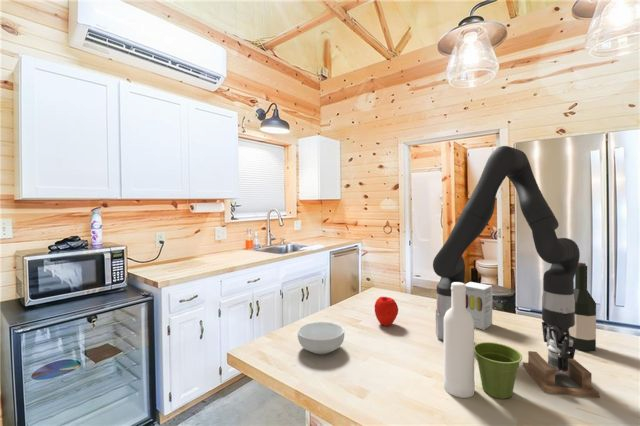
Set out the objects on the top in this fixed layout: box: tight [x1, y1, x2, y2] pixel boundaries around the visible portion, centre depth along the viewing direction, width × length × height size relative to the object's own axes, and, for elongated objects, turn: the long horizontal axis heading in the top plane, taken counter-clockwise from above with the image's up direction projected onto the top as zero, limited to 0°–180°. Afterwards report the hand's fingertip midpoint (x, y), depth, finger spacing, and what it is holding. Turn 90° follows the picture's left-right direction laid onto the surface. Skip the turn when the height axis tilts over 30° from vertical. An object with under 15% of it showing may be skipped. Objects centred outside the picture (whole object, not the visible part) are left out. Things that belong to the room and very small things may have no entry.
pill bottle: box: [547, 339, 569, 373], centre depth 90 cm, size 5×5×8 cm
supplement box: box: [464, 281, 493, 331], centre depth 133 cm, size 10×9×17 cm
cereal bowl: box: [297, 321, 345, 355], centre depth 113 cm, size 17×17×7 cm
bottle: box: [442, 282, 476, 399], centre depth 86 cm, size 8×8×30 cm
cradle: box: [522, 350, 601, 398], centre depth 90 cm, size 13×14×6 cm
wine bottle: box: [569, 262, 597, 353], centre depth 110 cm, size 8×8×30 cm
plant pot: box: [474, 341, 523, 400], centre depth 86 cm, size 12×12×11 cm
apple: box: [374, 296, 399, 327], centre depth 134 cm, size 10×10×12 cm
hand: (557, 364), depth 90 cm, fingers closed on pill bottle, 4 cm apart
